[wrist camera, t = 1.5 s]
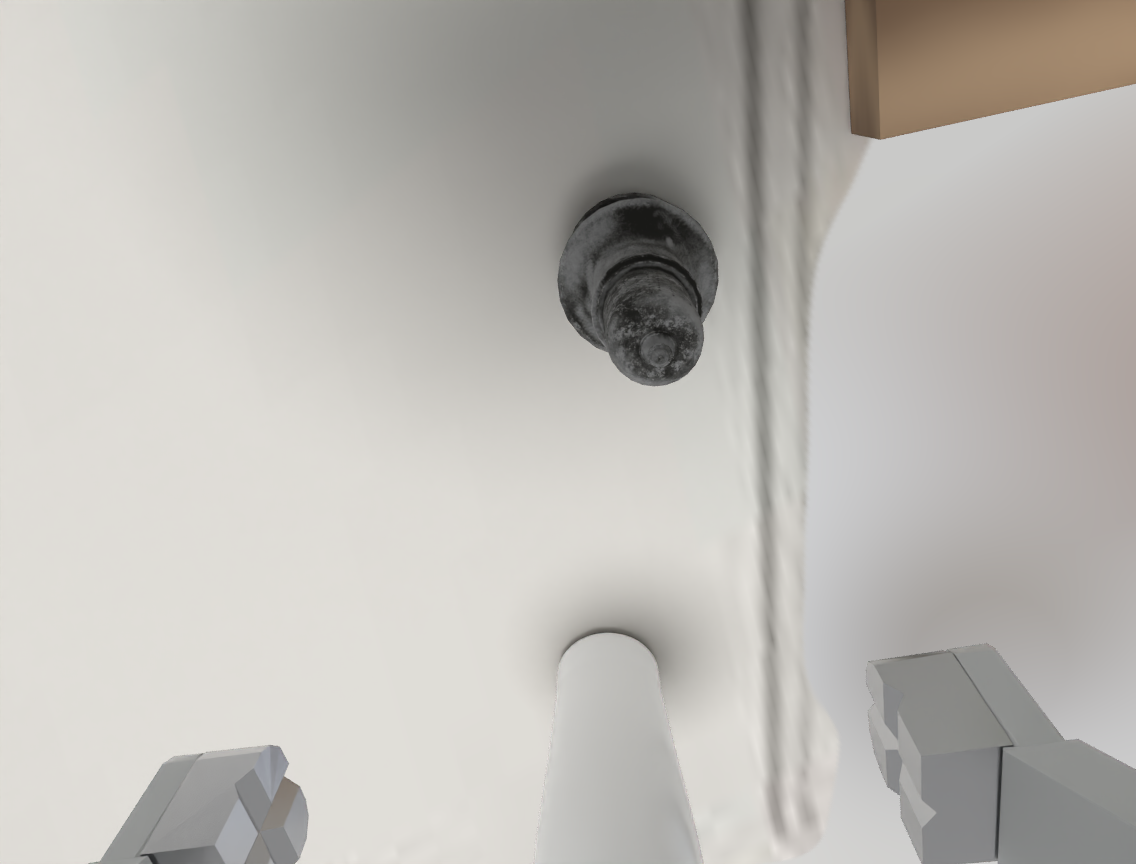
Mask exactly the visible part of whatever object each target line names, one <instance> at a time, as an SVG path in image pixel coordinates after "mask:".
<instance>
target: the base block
mask: <svg viewBox="0 0 1136 864" xmlns="http://www.w3.org/2000/svg"><path fill="white" fill-rule="evenodd" d="M845 11H846V32H847V53H848V73H849V94H850V114H851V134H855V135H860V136H865V137H870V138H875V139H880V140H881V139H886V138H890V137H895V136H899V135H904V134H909V133H913V132H918V131H922V130H927V129H931V128H936V127H940V126H945V125H950V124H954V123H958V122H963V121H968V120H972V119H977V118H981V117H986V116H991V115H995V114H1000V113H1004V112H1009V111H1014V110H1018V109H1022V108H1027V107H1032V106H1036V105H1041V104H1045V103H1050V102H1055V101H1059V100H1064V99H1068V98H1073V97H1077V96H1082V95H1086V94H1091V93H1095V92H1100V91H1105V90H1109V89H1114V88H1118V87H1123V86H1127V85H1132V84H1136V0H845Z"/></svg>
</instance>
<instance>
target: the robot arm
mask: <svg viewBox="0 0 1136 864" xmlns="http://www.w3.org/2000/svg"><path fill="white" fill-rule="evenodd" d="M866 684H867V687H868V689H869V691H870V694H871V695H872V698H873V700H874V702H875V703H874V704H873V705H872V706H871V708H870V709H869V710H868V718H869V730H870V735H871V740H872V745H873V749H874V753H875V756H876V759H877V762H878V765H879V768H880V770H881V773H882V775H883V778H884V780H885V782H886V785H887V787H888V788H890V789H891V790H893V791H894V792H896V793H897V794H898V795H900V806H901V807H900V808H901V819H902V821H903V823H904V826H905V828H906V830H907V832H908V835H909V837H910V839H911V841H912V843H913V846H914V848H915V850H916V852H917V855H918V857H919V859H920V861H921V863H922V864H966V863H979V862H991V861H998V864H1136V769H1134V768H1132V767H1130V766H1128V765H1126V764H1124V763H1123V762H1121V761H1119V760H1117V759H1115V758H1113V757H1111V756H1109V755H1107V754H1106V753H1104V752H1102V751H1100V750H1098V749H1096V748H1094V747H1092V746H1090V745H1088V744H1087V743H1085V742H1083V741H1081V740H1079V739H1075V740H1064V738H1063V737H1062V736H1061V734H1060V733H1059V732H1058V731H1057V729H1056V728H1055V726H1054V725H1053V724H1052V722H1051V721H1050V720H1049V719H1048V717H1047V716H1046V715H1045V713H1044V712H1043V711H1042V709H1041V708H1040V707H1039V705H1038V704H1037V703H1036V701H1035V700H1034V699H1033V697H1032V696H1031V695H1030V694H1029V692H1028V691H1027V690H1026V688H1025V687H1024V686H1023V684H1022V683H1021V682H1020V680H1019V679H1018V678H1017V676H1016V675H1015V674H1014V673H1013V671H1012V670H1011V668H1010V667H1009V666H1008V665H1007V663H1006V662H1005V661H1004V660H1003V658H1002V657H1001V655H1000V654H999V653H998V651H997V650H996V649H995V648H994V647H992V646H991V645H989V644H987V643H986V644H979V645H973V646H966V647H960V648H953V649H947V650H946V651H936V652H929V653H922V654H915V655H909V656H902V657H895V658H888V659H882V660H876V661H868V663H867V667H866ZM288 765H289V763H288V761H287V759H286V757H285V756H284V754H283V752H282V750H281V748H280V747H279V746H273V745H265V746H257V747H248V748H239V749H230V750H221V751H212V752H206V753H202V754H193V755H183V756H174V757H172V758H171V759H169V760H168V761H166V762H165V763H163V764H162V766H161V767H160V769H159V771H158V772H157V774H156V775H155V777H154V778H153V780H152V781H151V783H150V784H149V786H148V788H147V789H146V791H145V792H144V794H143V795H142V797H141V798H140V800H139V802H138V803H137V805H136V806H135V808H134V809H133V811H132V812H131V814H130V816H129V817H128V819H127V820H126V822H125V823H124V825H123V826H122V828H121V830H120V831H119V833H118V834H117V836H116V837H115V839H114V840H113V842H112V844H111V845H110V847H109V848H108V850H107V851H106V853H105V854H104V856H103V857H102V859H101V861H100V862H94V863H89V864H295V863H296V862H297V861H298V860H299V858H300V855H301V852H302V850H303V847H304V844H305V841H306V838H307V827H308V816H309V815H308V810H307V804H306V799H305V797H304V795H303V792H302V790H301V788H300V786H298V785H297V784H295V783H294V782H292V781H291V780H289V779H287V778H286V777H284V775H285V772H286V770H287V767H288Z"/></svg>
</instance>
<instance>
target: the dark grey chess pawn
mask: <svg viewBox="0 0 1136 864" xmlns="http://www.w3.org/2000/svg"><path fill="white" fill-rule="evenodd" d="M717 286H718V262H717V258H716V255H715V252H714V249H713V246H712V243H711V240H710V239H709V237H708V236H707V234H706V233H705V231H704V230H703V229H702V227H701V226H700V224H699V223H698V222H697V221H696V220H694V219H693V218H692V217H691V216H690V215H689V214H687V213H686V212H685V211H684V210H683V209H680V208H678V207H676V206H674V205H671V204H669V203H668V202H665V201H663V200H661V199H659V198H657V197H654V196H652V195H646V194H639V193H629V194H621V195H616V196H613V197H611V198H608V199H606V200H604V201H601V202H600V203H598V204H597V205H596V206H594V207H593V208H592V209H591V210H589V211H588V212H587V213H586V214H585V215H584V217H583V218H582V219H581V220H580V222H579V223H578V224H577V226H576V227H575V230H574V232H573V234H572V236H571V237H570V238H569V240H568V242H567V245H566V247H565V249H564V252H563V254H562V257H561V259H560V266H559V273H558V288H559V296H560V302H561V304H562V307H563V309H564V311H565V314H566V316H567V318H568V320H569V322H570V323H571V324H572V325H573V327H574V328H575V329H576V331H577V332H578V333H579V334H580V336H582V337H583V338H584V339H586V340H587V341H588V342H590V343H591V344H592V345H594V346H595V347H596V348H599V349H601V350H604V351H606V352H609V355H610V357H611V360H612V362H613V363H614V364H615V365H616V367H617V368H618V369H619V371H620V372H621V373H623V374H624V375H625V376H627V377H628V378H629V379H631V380H632V381H635V382H637V383H640V384H642V385H649V386H661V385H667V384H670V383H673V382H675V381H678V380H679V379H681V378H682V377H684V376H685V375H687V374H688V373H689V372H690V370H691V369H692V368H693V367H694V366H695V365H696V363H697V361H698V359H699V357H700V355H701V351H702V346H703V341H704V332H703V325H702V323H703V322H704V320H705V318H706V316H707V315H708V313H709V311H710V309H711V307H712V305H713V303H714V299H715V295H716V290H717Z"/></svg>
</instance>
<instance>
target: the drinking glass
mask: <svg viewBox="0 0 1136 864" xmlns="http://www.w3.org/2000/svg"><path fill="white" fill-rule="evenodd" d="M533 864H704V861H703V856H702V851H701V847H700V842H699V838H698V833H697V829H696V825H695V821H694V817H693V813H692V809H691V805H690V801H689V798H688V794H687V790H686V786H685V782H684V778H683V774H682V770H681V767H680V763H679V759H678V755H677V751H676V747H675V743H674V739H673V735H672V731H671V727H670V723H669V719H668V715H667V711H666V707H665V703H664V699H663V695H662V689H661V682H660V675H659V670H658V665H657V663H656V660H655V658H654V656H653V655H652V653H651V652H650V651H649V650H648V648H647V647H646V646H645V645H643V644H642V643H641V642H639V641H638V640H636V639H634V638H632V637H629V636H626V635H623V634H618V633H598V634H594V635H590V636H587V637H585V638H582V639H581V640H579V641H577V642H576V643H574V644H573V645H572V646H571V647H570V648H569V649H568V650H567V651H566V652H565V653H564V655H563V656H562V658H561V660H560V663H559V666H558V670H557V683H556V700H555V708H554V716H553V723H552V730H551V737H550V745H549V752H548V759H547V765H546V772H545V779H544V786H543V793H542V799H541V806H540V813H539V820H538V827H537V835H536V842H535V851H534V862H533Z"/></svg>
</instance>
